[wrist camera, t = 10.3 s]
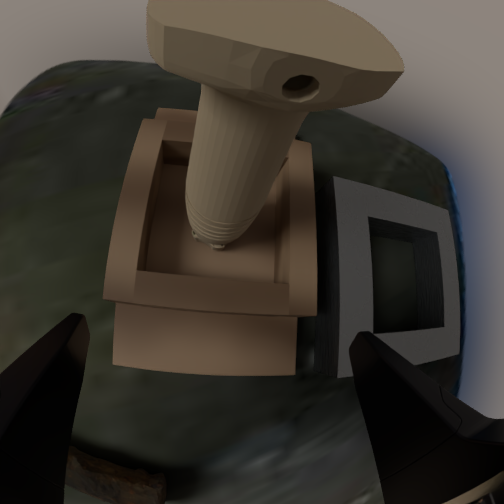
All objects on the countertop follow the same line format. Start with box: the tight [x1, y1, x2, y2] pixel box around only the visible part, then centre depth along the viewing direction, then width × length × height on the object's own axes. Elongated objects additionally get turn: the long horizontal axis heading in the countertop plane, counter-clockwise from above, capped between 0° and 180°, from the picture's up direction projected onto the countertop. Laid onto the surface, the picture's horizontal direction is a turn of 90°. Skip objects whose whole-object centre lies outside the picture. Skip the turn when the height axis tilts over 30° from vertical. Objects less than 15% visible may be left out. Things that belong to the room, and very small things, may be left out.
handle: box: [147, 0, 404, 251], centre depth 11 cm, size 5×6×15 cm
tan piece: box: [103, 108, 317, 376], centre depth 18 cm, size 20×12×4 cm, turn 177°
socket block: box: [314, 176, 460, 378], centre depth 20 cm, size 14×14×4 cm
